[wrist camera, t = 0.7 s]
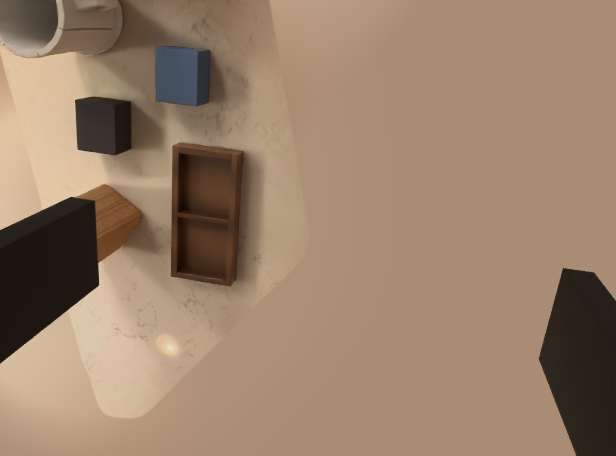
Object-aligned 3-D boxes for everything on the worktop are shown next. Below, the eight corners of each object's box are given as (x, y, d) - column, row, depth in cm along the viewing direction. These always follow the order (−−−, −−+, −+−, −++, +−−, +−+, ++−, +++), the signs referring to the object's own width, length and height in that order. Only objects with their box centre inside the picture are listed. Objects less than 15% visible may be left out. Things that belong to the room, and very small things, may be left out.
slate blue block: (170, 45, 65) (155, 46, 61) (210, 50, 64) (198, 51, 60) (169, 97, 67) (155, 101, 63) (208, 102, 66) (196, 106, 62)
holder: (179, 142, 68) (172, 145, 66) (243, 151, 67) (238, 154, 65) (177, 270, 74) (170, 276, 72) (236, 279, 73) (230, 286, 71)
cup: (86, -56, 63) (15, -76, 52) (147, 1, 63) (91, -7, 52) (42, 19, 66) (-33, 16, 55) (101, 71, 67) (38, 78, 56)
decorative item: (121, 248, 75) (24, 317, 56) (82, 217, 74) (-29, 276, 56) (145, 213, 72) (53, 273, 54) (105, 181, 72) (-3, 230, 53)
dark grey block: (93, 96, 68) (74, 99, 65) (131, 101, 68) (114, 104, 64) (95, 144, 70) (77, 149, 67) (131, 149, 70) (115, 155, 66)
